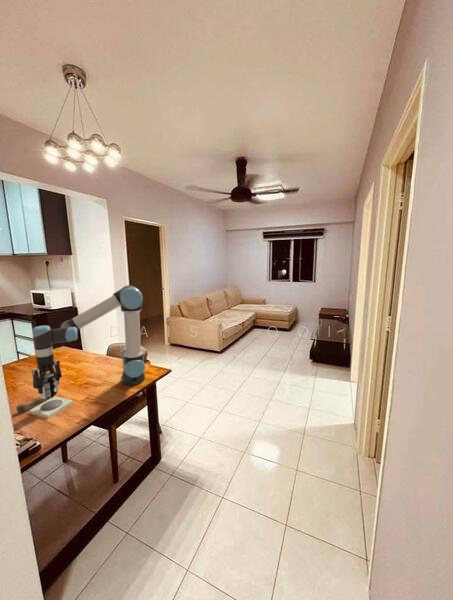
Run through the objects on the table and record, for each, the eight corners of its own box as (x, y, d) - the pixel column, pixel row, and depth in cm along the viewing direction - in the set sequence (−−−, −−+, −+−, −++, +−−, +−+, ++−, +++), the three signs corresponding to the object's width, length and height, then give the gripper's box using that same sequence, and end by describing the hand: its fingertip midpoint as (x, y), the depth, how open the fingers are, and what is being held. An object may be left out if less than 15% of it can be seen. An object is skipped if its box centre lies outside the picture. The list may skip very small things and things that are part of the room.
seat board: (73, 403, 141) (72, 400, 141) (48, 418, 128) (48, 415, 128) (55, 398, 145) (54, 395, 145) (29, 413, 132) (29, 409, 132)
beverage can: (54, 390, 140) (52, 371, 138) (59, 394, 136) (56, 374, 134) (40, 395, 135) (38, 375, 133) (44, 400, 131) (41, 379, 129)
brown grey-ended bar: (48, 398, 146) (47, 392, 145) (51, 399, 144) (50, 393, 143) (17, 412, 133) (16, 405, 132) (20, 414, 131) (18, 407, 130)
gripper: (57, 347, 141) (61, 384, 146) (19, 361, 123) (26, 403, 127) (66, 349, 139) (71, 386, 143) (30, 363, 121) (36, 406, 125)
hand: (50, 394), depth 135 cm, fingers closed on beverage can, 7 cm apart
